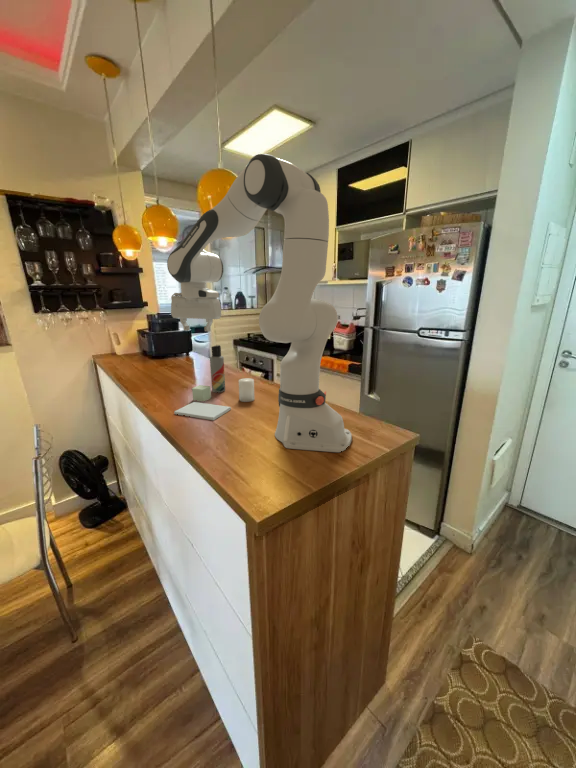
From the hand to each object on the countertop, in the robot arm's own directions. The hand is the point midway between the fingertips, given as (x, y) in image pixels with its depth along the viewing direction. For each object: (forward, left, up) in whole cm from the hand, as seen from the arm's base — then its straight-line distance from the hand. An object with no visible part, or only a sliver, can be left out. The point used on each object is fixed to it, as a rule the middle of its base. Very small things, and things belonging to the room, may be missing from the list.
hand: (197, 330), depth 116 cm
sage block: (0, 0, -27) cm, 27 cm away
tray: (-9, +12, -27) cm, 31 cm away
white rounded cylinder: (-17, -6, -27) cm, 33 cm away
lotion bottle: (0, -12, -27) cm, 30 cm away
